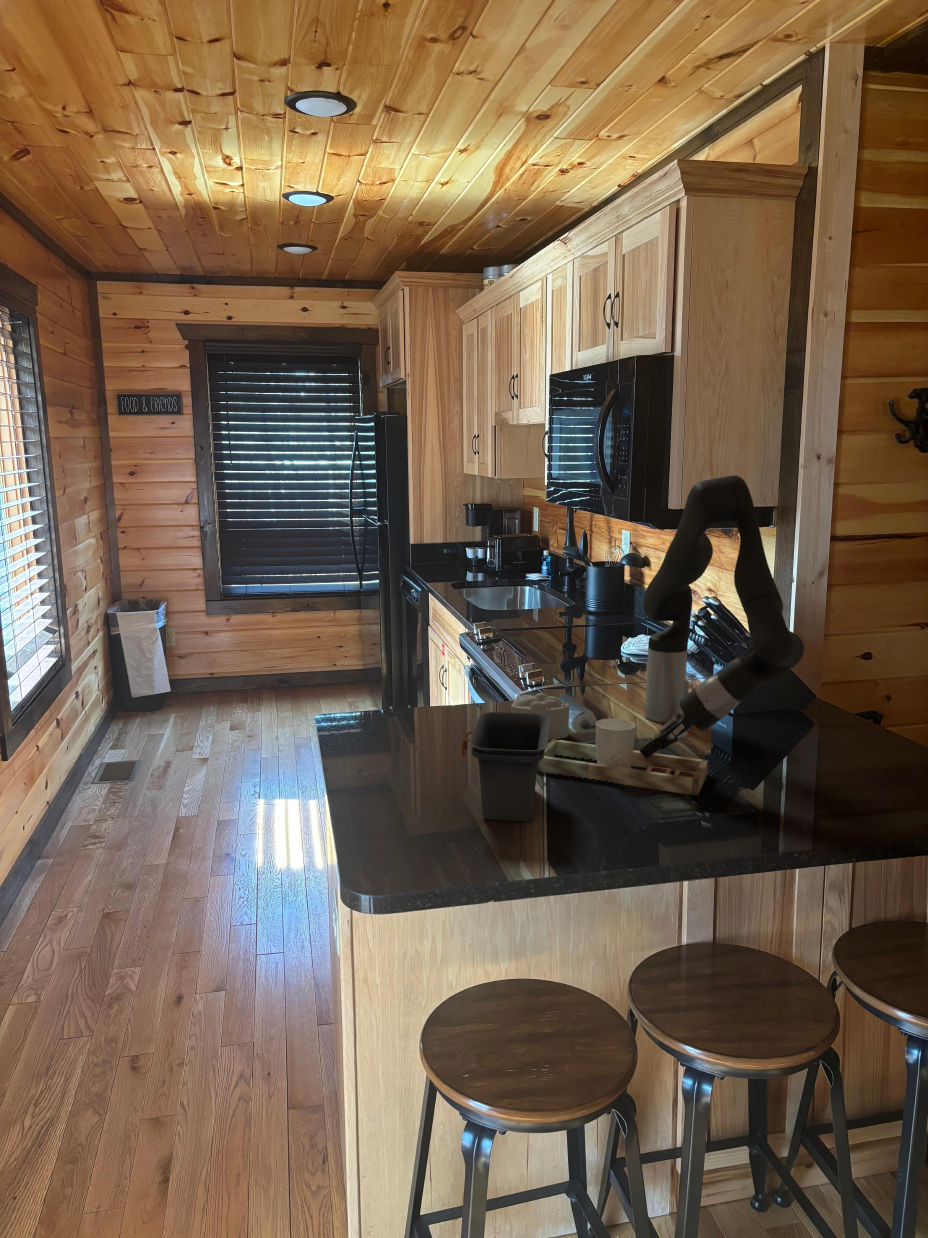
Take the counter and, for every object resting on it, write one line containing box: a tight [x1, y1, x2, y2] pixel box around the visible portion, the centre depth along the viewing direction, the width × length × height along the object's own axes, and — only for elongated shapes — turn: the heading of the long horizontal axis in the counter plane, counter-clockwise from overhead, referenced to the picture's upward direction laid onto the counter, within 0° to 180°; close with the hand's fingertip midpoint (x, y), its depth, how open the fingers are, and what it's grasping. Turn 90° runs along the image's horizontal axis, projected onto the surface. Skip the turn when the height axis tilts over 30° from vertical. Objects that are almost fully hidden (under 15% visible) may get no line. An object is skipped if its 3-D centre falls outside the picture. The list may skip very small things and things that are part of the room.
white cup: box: [595, 718, 637, 769], centre depth 179 cm, size 8×8×10 cm
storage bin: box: [461, 711, 550, 822], centre depth 162 cm, size 21×16×14 cm
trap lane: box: [537, 739, 709, 797], centre depth 179 cm, size 32×12×3 cm, turn 67°
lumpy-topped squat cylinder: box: [510, 692, 570, 740], centre depth 204 cm, size 10×13×9 cm
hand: (643, 753), depth 177 cm, fingers closed
